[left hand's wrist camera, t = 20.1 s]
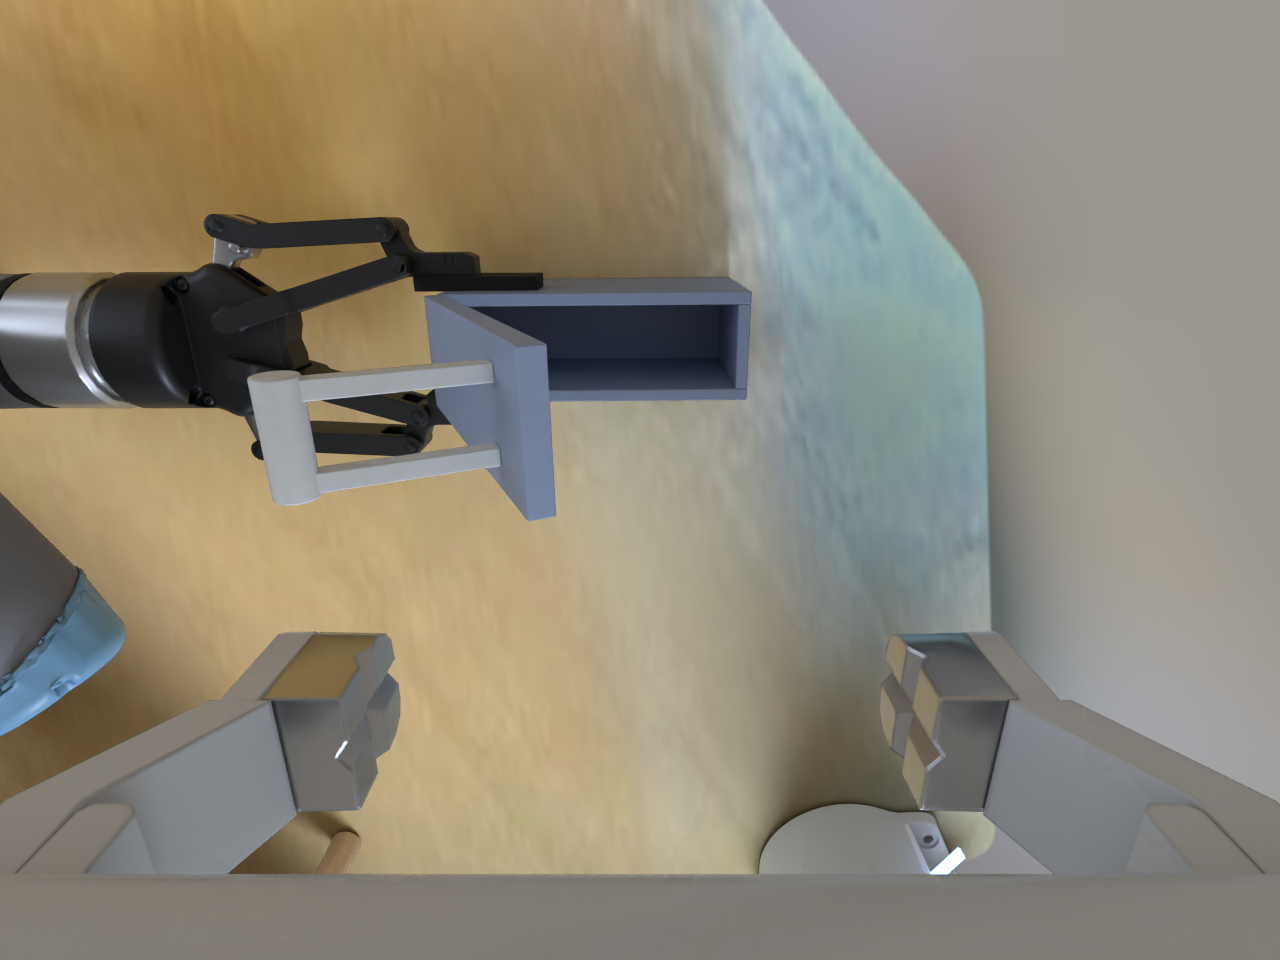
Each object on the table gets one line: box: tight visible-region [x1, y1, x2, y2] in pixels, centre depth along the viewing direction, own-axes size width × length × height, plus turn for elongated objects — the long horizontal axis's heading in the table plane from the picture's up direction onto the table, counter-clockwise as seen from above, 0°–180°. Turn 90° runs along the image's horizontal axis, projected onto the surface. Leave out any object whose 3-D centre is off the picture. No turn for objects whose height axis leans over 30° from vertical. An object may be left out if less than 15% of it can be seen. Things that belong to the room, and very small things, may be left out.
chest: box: [437, 277, 752, 401], centre depth 41 cm, size 16×6×10 cm, turn 91°
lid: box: [247, 295, 556, 521], centre depth 27 cm, size 17×6×8 cm
